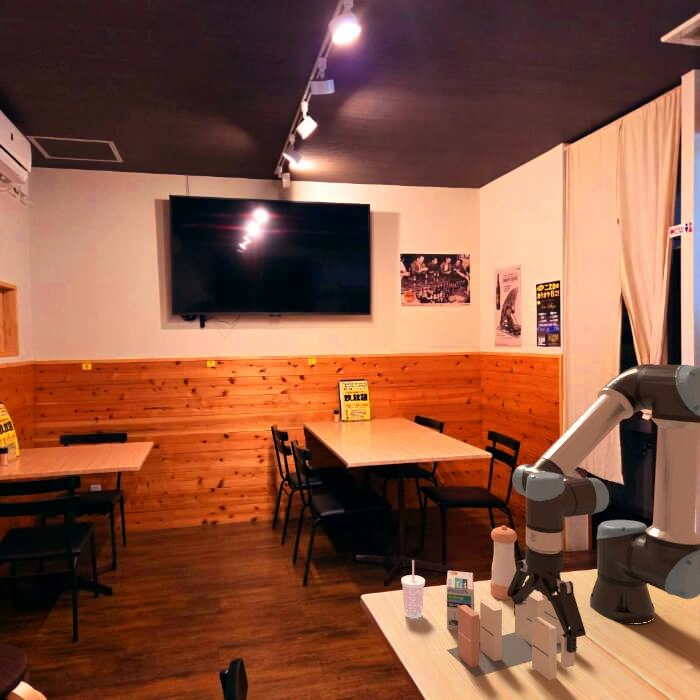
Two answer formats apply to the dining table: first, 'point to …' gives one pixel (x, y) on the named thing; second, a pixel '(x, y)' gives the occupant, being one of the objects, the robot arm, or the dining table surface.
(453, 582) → the light bulb box
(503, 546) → the salt shaker
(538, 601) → the domino
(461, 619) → the domino
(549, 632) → the loose domino
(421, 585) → the beverage cup
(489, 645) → the domino
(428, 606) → the dining table surface
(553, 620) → the domino
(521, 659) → the slate mat
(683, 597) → the robot arm
